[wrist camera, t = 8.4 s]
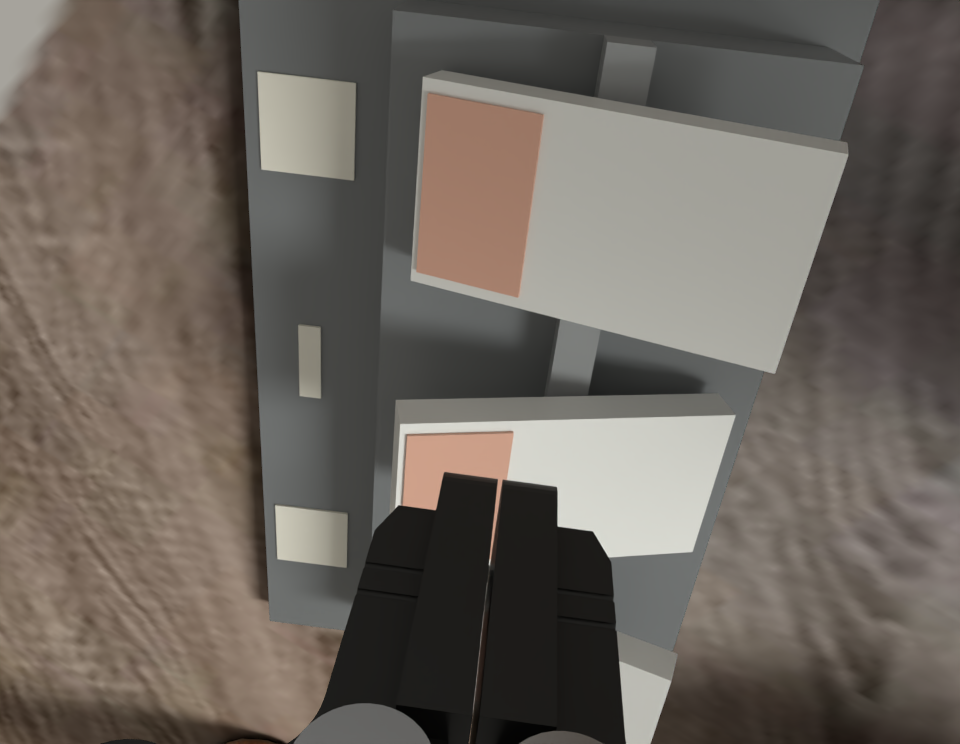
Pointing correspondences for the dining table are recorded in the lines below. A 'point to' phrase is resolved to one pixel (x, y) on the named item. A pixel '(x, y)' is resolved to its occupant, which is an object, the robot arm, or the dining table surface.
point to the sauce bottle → (250, 741)
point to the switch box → (450, 315)
